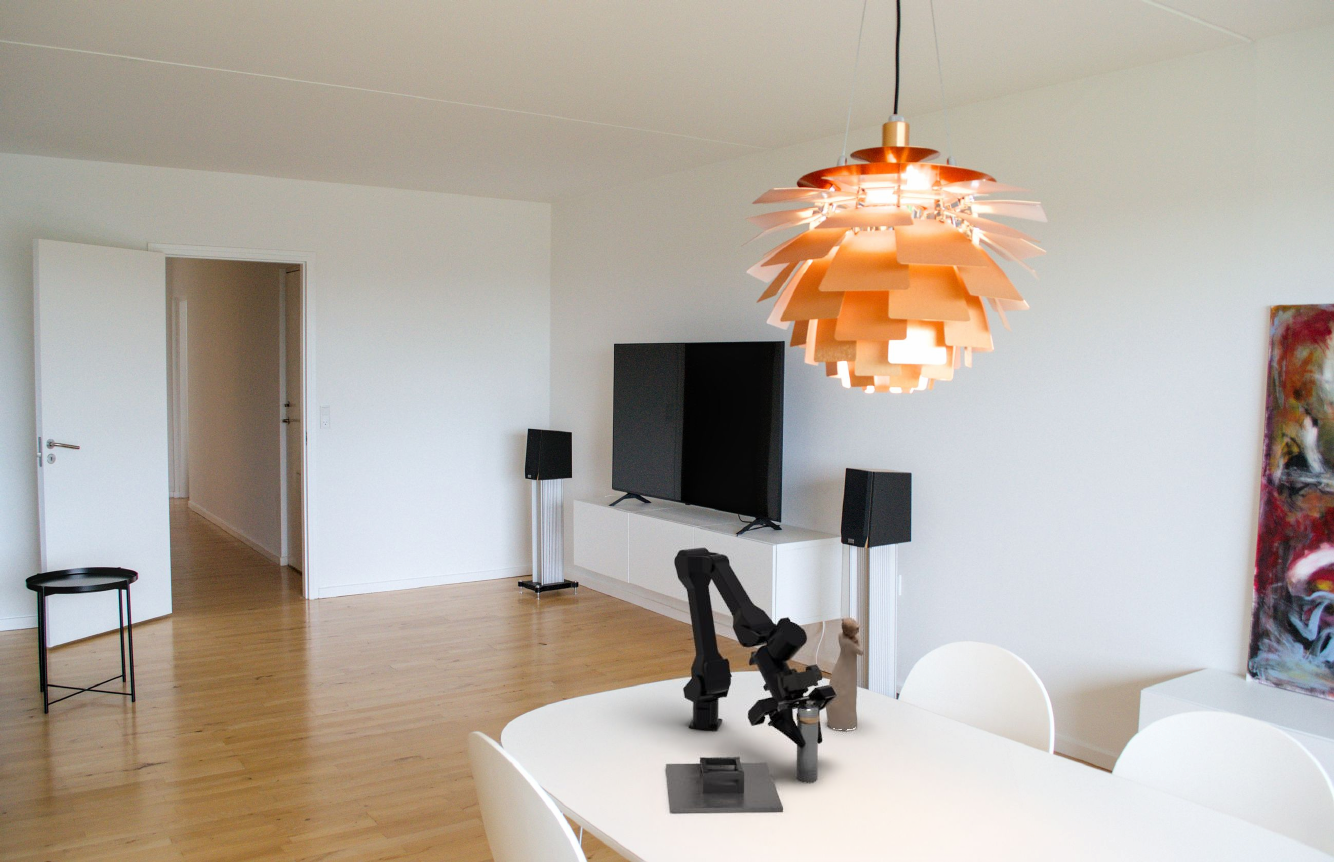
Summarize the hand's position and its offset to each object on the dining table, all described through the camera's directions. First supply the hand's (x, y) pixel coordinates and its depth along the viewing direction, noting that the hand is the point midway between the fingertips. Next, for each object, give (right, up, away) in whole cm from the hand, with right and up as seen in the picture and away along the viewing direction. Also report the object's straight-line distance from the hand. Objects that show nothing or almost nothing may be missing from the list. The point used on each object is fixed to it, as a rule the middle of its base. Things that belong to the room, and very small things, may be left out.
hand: (812, 744), depth 185 cm
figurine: (+12, -6, +30) cm, 33 cm away
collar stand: (-18, -7, -3) cm, 19 cm away
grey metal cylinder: (-1, -7, +2) cm, 7 cm away
